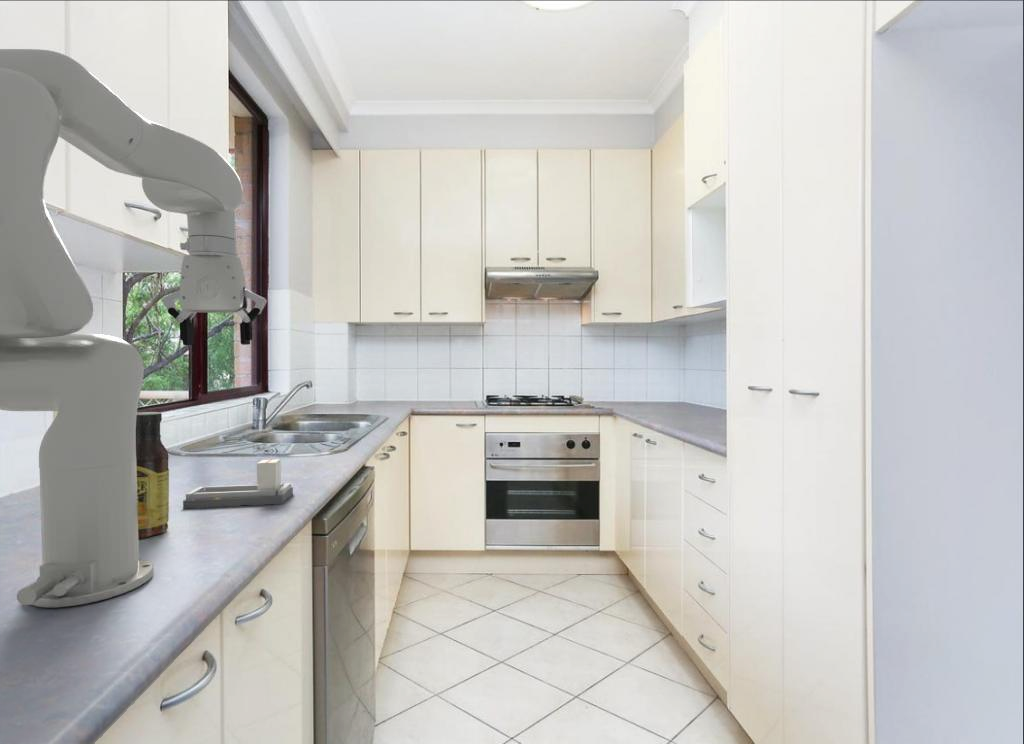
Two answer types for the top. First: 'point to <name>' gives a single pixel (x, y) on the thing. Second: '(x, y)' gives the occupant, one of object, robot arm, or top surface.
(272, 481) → the fader cap
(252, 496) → the grey shallow tray
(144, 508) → the sauce bottle
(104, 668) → the top surface
